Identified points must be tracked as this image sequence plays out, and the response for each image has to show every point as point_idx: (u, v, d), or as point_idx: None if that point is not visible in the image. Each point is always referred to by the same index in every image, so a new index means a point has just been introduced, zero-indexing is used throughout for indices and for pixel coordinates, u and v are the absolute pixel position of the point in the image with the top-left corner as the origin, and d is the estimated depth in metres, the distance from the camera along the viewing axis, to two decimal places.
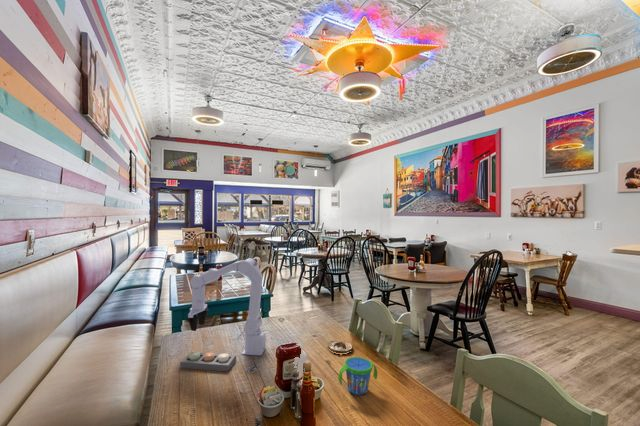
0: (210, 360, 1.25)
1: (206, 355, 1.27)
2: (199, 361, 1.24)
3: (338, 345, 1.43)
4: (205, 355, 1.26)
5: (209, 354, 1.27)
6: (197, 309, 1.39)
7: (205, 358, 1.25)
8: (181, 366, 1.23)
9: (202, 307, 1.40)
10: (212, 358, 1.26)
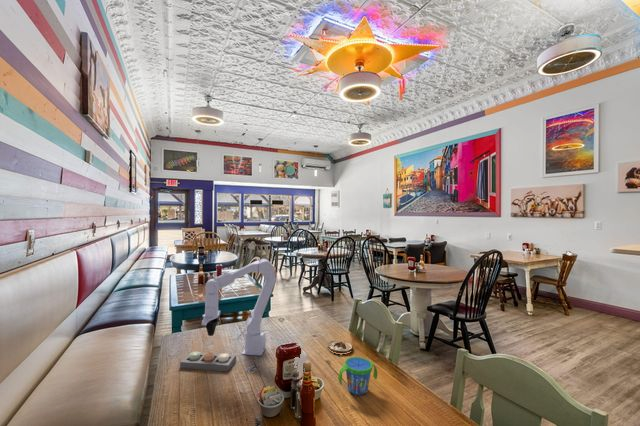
0: (210, 360, 1.25)
1: (206, 355, 1.27)
2: (199, 361, 1.24)
3: (338, 345, 1.43)
4: (205, 355, 1.26)
5: (209, 354, 1.27)
6: (210, 316, 1.32)
7: (205, 358, 1.25)
8: (181, 366, 1.23)
9: (216, 314, 1.33)
10: (212, 358, 1.26)
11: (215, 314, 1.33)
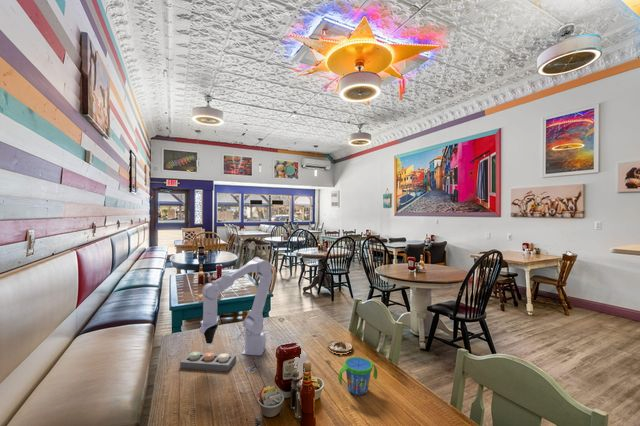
0: (210, 360, 1.25)
1: (206, 355, 1.27)
2: (199, 361, 1.24)
3: (338, 345, 1.43)
4: (205, 355, 1.26)
5: (209, 354, 1.27)
6: (209, 323, 1.24)
7: (205, 358, 1.25)
8: (181, 366, 1.23)
9: (214, 320, 1.26)
10: (212, 358, 1.26)
11: (214, 320, 1.26)
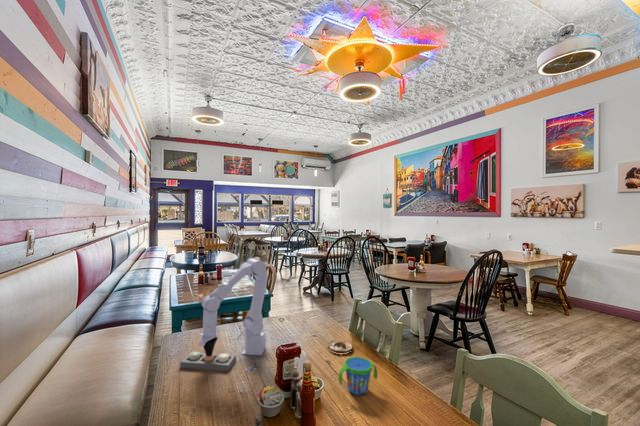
0: (210, 360, 1.25)
1: None
2: (199, 361, 1.24)
3: (338, 345, 1.43)
4: (205, 355, 1.26)
5: None
6: (209, 335, 1.24)
7: (205, 358, 1.25)
8: (181, 366, 1.23)
9: (214, 333, 1.26)
10: (212, 358, 1.26)
11: (213, 333, 1.26)
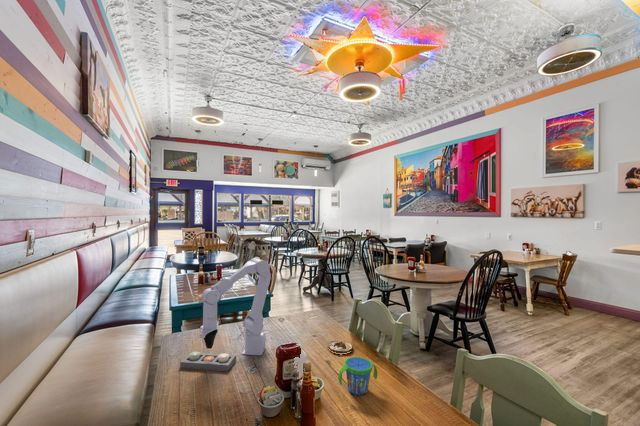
0: None
1: (206, 358, 1.27)
2: (199, 361, 1.24)
3: (338, 345, 1.43)
4: (205, 359, 1.26)
5: (209, 358, 1.27)
6: (209, 328, 1.24)
7: None
8: (181, 366, 1.23)
9: (214, 325, 1.26)
10: None
11: (214, 325, 1.26)
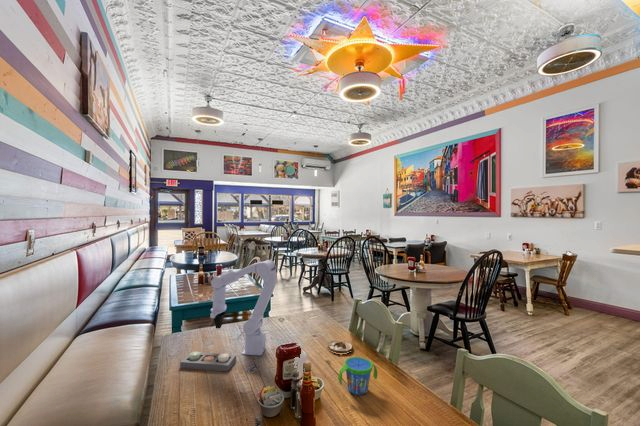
0: None
1: (206, 358, 1.27)
2: (199, 361, 1.24)
3: (338, 345, 1.43)
4: (205, 359, 1.26)
5: (209, 358, 1.27)
6: (218, 310, 1.41)
7: None
8: (181, 366, 1.23)
9: (223, 308, 1.42)
10: None
11: (222, 308, 1.42)
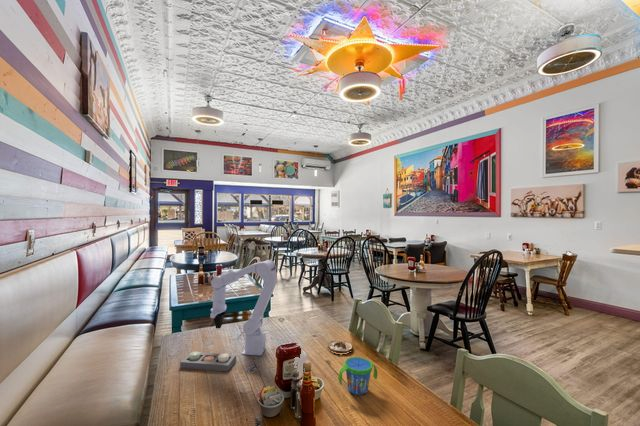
0: None
1: (206, 358, 1.27)
2: (199, 361, 1.24)
3: (338, 345, 1.43)
4: (205, 359, 1.26)
5: (209, 358, 1.27)
6: (218, 310, 1.41)
7: None
8: (181, 366, 1.23)
9: (223, 308, 1.42)
10: None
11: (222, 308, 1.42)
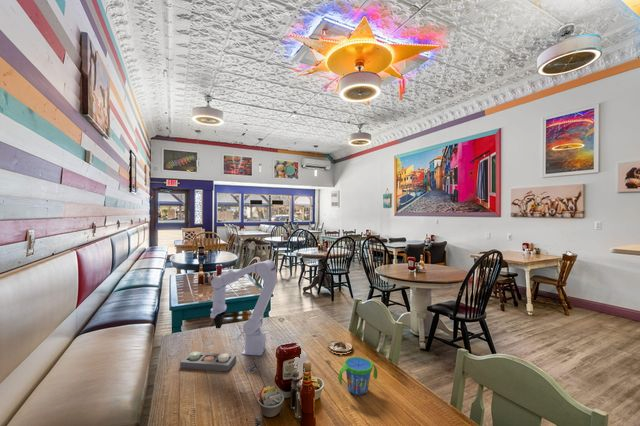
0: None
1: (206, 358, 1.27)
2: (199, 361, 1.24)
3: (338, 345, 1.43)
4: (205, 359, 1.26)
5: (209, 358, 1.27)
6: (218, 310, 1.41)
7: None
8: (181, 366, 1.23)
9: (223, 308, 1.42)
10: None
11: (222, 308, 1.42)
